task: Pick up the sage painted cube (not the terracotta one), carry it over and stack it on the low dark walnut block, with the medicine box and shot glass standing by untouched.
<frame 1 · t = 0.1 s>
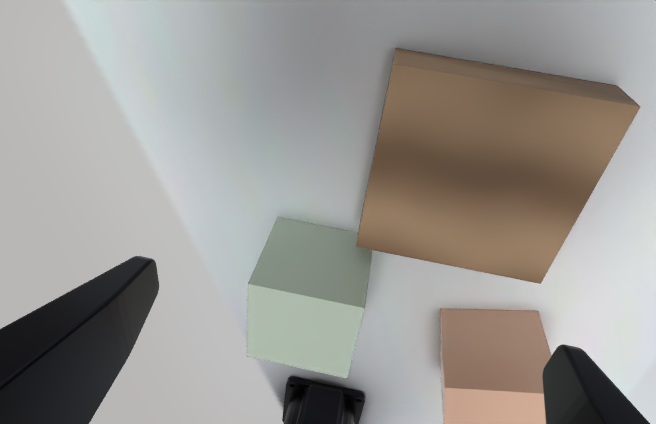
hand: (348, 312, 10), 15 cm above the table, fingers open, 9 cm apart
sage cube: (320, 261, 29), on the table
walnut block: (470, 162, 23), on the table
clay cube: (485, 339, 30), on the table
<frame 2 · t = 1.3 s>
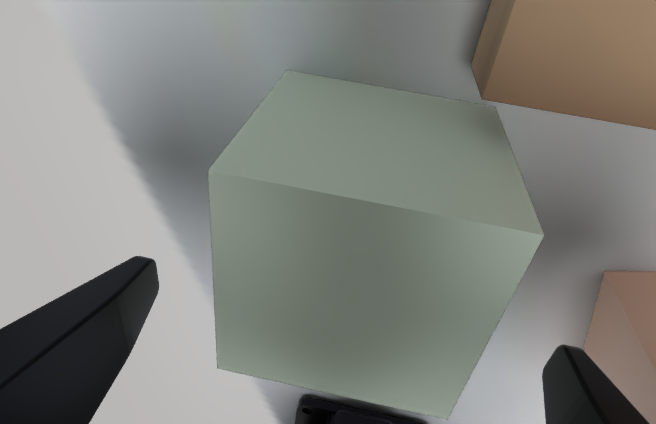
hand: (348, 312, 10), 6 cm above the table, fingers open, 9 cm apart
sage cube: (371, 176, 14), on the table
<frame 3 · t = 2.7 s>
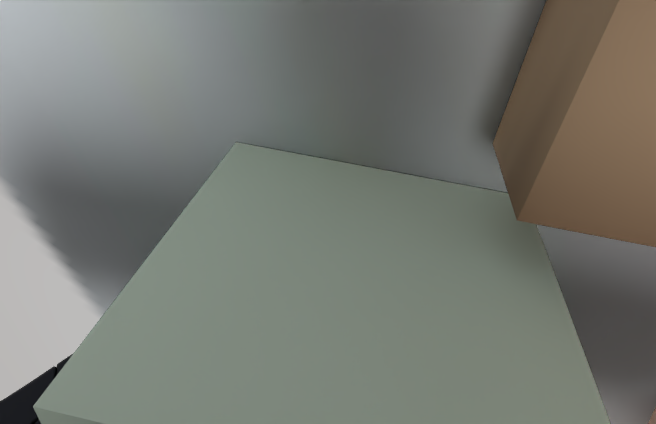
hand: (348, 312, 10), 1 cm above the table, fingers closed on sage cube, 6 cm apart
sage cube: (355, 274, 11), on the table, touching gripper
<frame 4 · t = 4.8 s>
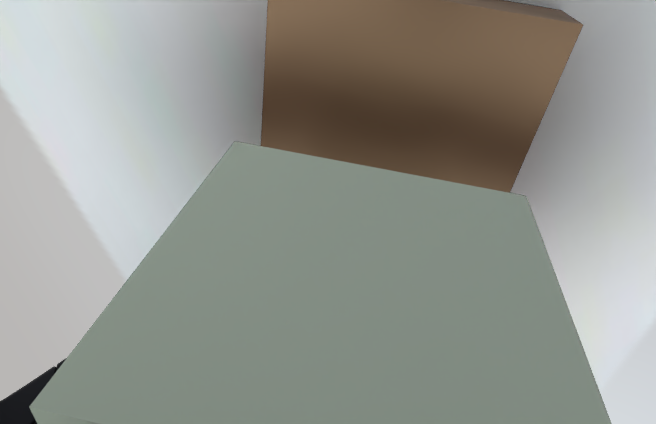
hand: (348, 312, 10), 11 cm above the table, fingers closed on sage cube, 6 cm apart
sage cube: (354, 274, 11), point 10 cm above the table, touching gripper
walnut block: (392, 115, 19), on the table
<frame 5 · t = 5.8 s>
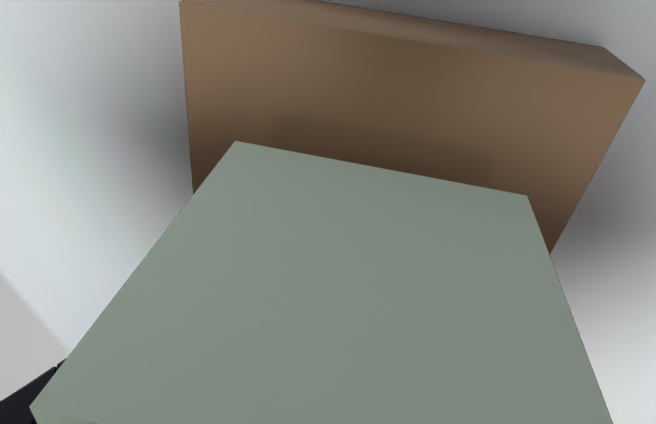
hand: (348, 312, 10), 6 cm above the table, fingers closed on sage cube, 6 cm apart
sage cube: (355, 274, 11), point 5 cm above the table, touching gripper
walnut block: (372, 179, 14), on the table
when the fingers open (4 cm above the table, at t = 6.9 s): sage cube stays where it is, resting on walnut block.
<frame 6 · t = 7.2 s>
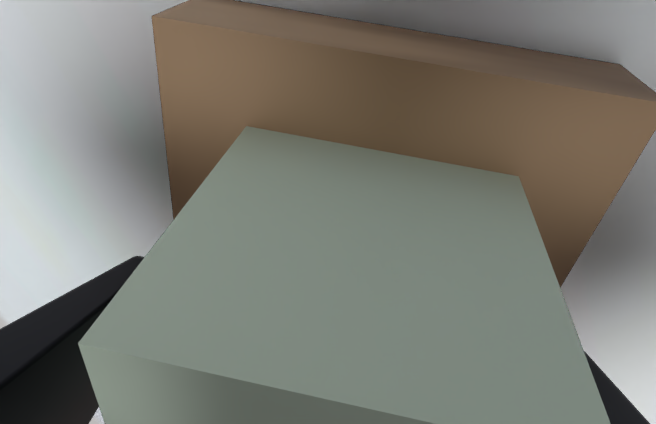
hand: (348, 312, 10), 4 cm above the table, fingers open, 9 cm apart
sage cube: (358, 253, 11), point 2 cm above the table, touching walnut block
walnut block: (368, 201, 13), on the table
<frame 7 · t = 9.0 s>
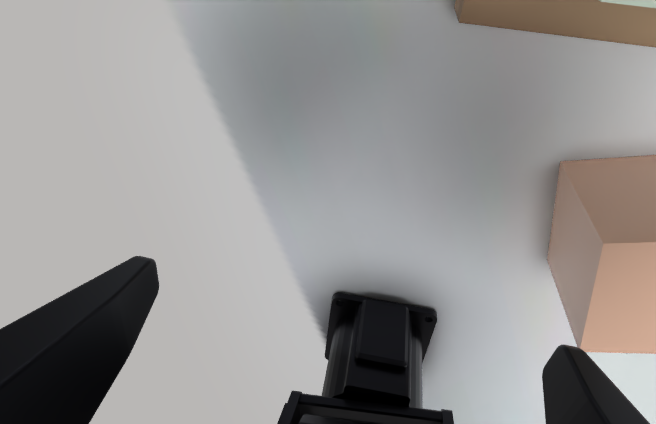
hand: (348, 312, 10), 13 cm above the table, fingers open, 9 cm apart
clay cube: (620, 210, 21), on the table
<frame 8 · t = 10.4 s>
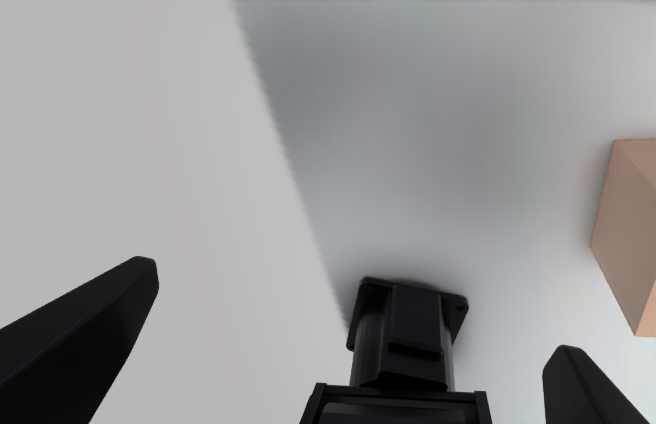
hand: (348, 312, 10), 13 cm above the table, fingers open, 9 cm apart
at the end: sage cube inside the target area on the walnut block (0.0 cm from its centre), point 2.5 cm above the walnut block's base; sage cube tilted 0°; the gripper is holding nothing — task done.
